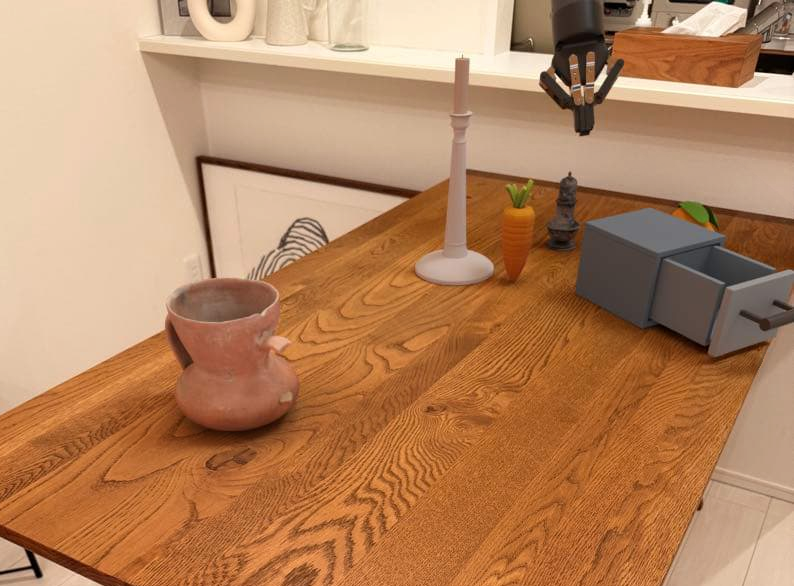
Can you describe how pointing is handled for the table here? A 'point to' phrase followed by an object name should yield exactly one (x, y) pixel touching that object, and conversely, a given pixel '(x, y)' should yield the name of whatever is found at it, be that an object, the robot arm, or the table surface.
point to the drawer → (721, 298)
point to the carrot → (517, 230)
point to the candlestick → (456, 205)
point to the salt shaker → (564, 217)
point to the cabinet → (633, 259)
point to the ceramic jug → (229, 354)
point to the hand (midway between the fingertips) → (585, 133)
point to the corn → (696, 214)
